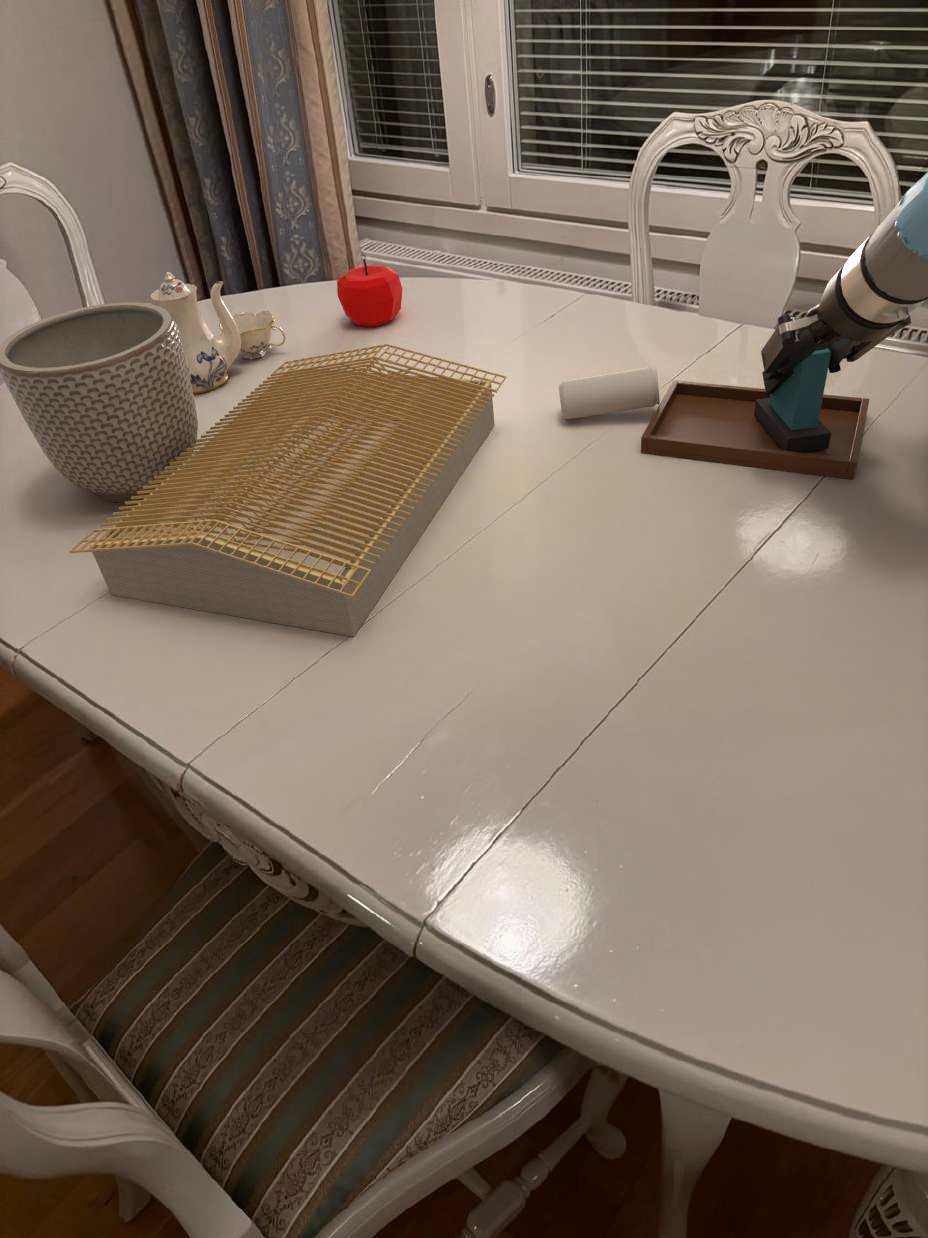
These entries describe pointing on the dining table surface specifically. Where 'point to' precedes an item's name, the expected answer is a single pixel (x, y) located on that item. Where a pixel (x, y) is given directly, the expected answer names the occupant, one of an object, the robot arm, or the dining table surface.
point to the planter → (104, 394)
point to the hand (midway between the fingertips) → (782, 380)
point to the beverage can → (609, 393)
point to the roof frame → (262, 581)
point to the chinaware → (202, 348)
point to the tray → (749, 430)
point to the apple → (370, 294)
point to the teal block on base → (798, 407)
